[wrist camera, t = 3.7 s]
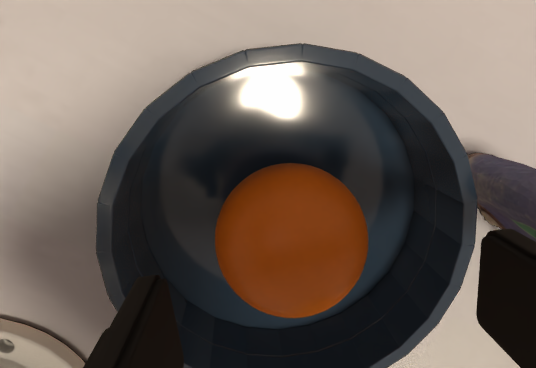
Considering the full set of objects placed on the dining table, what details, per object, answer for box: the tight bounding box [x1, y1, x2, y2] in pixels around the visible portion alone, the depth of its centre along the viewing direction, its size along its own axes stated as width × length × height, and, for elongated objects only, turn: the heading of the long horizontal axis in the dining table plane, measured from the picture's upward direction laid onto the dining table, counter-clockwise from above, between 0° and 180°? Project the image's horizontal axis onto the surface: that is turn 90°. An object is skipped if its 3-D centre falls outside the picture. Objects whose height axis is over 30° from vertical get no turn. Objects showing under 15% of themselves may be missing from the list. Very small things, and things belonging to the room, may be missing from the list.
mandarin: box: [215, 163, 368, 318], centre depth 15 cm, size 6×6×6 cm
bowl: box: [96, 43, 477, 368], centre depth 16 cm, size 15×15×5 cm
